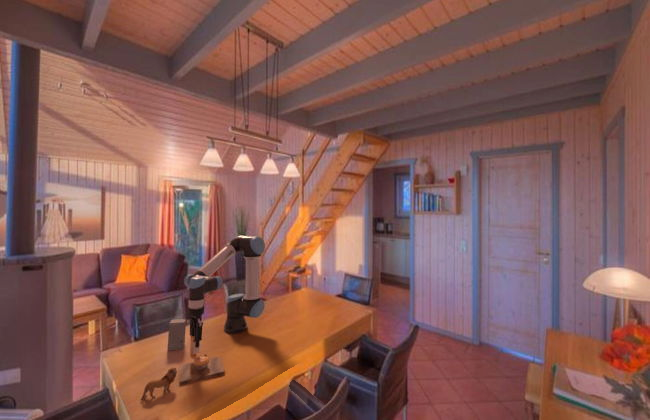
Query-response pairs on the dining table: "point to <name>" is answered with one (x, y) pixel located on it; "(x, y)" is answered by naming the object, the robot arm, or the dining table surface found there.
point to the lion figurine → (160, 383)
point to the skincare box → (176, 334)
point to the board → (200, 370)
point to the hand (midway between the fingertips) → (195, 351)
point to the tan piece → (197, 360)
